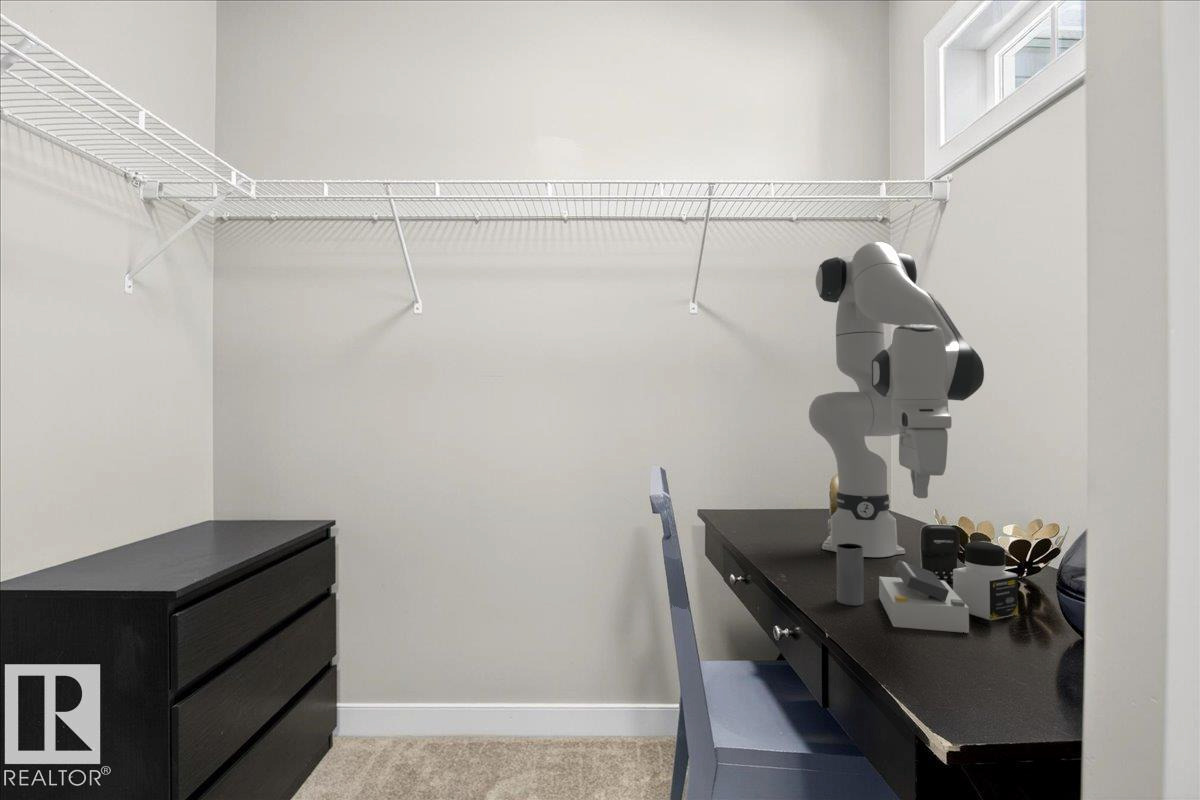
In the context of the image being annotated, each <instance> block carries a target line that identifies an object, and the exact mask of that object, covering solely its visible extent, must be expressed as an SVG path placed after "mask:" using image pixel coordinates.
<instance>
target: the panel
mask: <svg viewBox="0 0 1200 800" xmlns="http://www.w3.org/2000/svg"><path fill="white" fill-rule="evenodd" d="M878 580H879V581H878V584H879V585H878V587H879V590H878V592H879V593H878V594H879V600H880V602H881V604H882V607H883V608H884V610H885V612H886V614H887V616H888V619H889V621H890V623H891V625H892V626H893V628H904V629H905V628H906V629H917V630H926V631H927V630H929V631H930V630H931V631H941V632H954V633H963V632H964V633H967V634H970V614H969V607H968V606H967V605H966V604H965V603H964V602H963V601H962V600H961V598H960V597H959V596H958V595H957V594H956V593H955V592H954V591H953V588H952V587H951V586H950V585H949V584H948V582H945V581H943V580H940V581H941V582H942V583H943V585H944V586H945V587H946V588H947V589H948V590H949V592H948V595H947V598H946V601H944V600H941V599H938V598H935V597H933V596H930V595H927V594H924V593H922V592H919V591H916V590H913V589H911V588H908V587H907V586H906V585H905V583H904V582H903V581H902V579H901V578H900V577H895V576H894V577H892V576H880V575H879V576H878Z"/></svg>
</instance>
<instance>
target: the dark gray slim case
mask: <svg viewBox="0 0 1200 800" xmlns="http://www.w3.org/2000/svg"><path fill="white" fill-rule="evenodd" d="M894 570H895V571H896V573H897V575H898V577H899V578H901V579H902V581H903V582H904V583H905V585H906V586H907V587H908V588H911V589H913V590H916V591H919V592H922V593H924V594H927V595H930V596H933V597H935V598H938V599H941V600H944V601H946V598H947V595H948V592H949V590H948V589H947V588H946V587H945V586H944V585H943V583H942V582H941V581H940V580H939V579H938V578H937V577H936V575H935V574H934V573H933V572H931V571H928V570H926V569H923V568H921V566H917V565H915V564H911V563H908V562H905V561H903V560H900V559H897V562H896V565H895V567H894Z"/></svg>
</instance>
